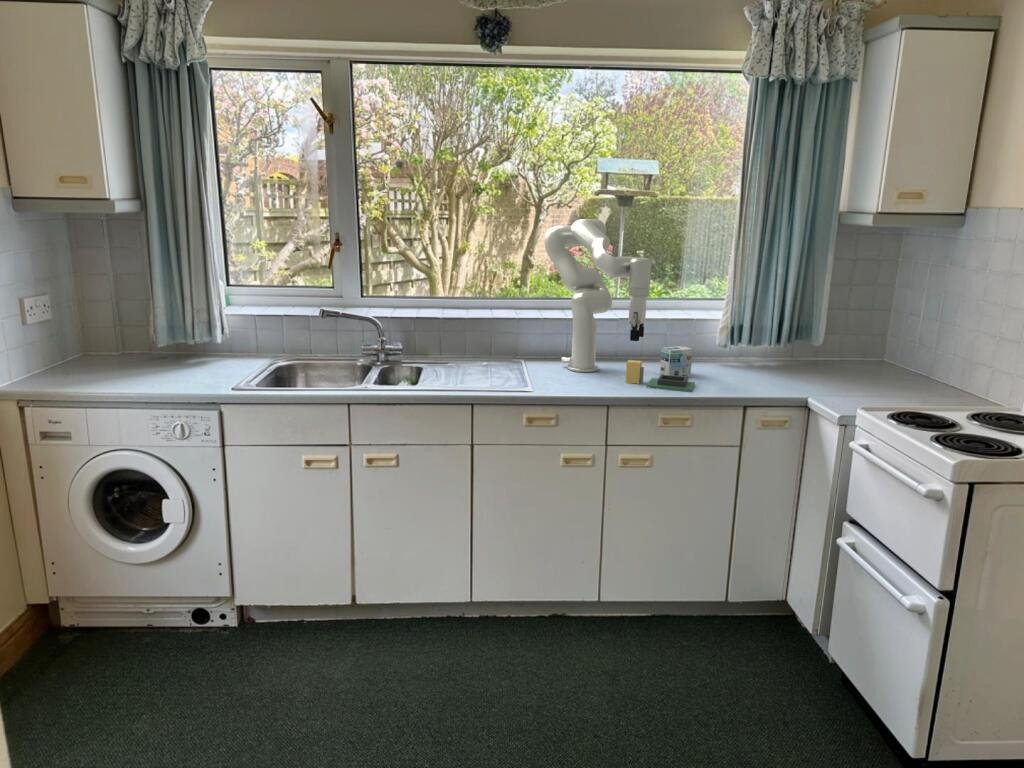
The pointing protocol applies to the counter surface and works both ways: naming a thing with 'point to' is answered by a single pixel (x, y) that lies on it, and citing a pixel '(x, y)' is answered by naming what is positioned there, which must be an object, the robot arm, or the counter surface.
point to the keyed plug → (634, 372)
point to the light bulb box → (676, 361)
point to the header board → (671, 383)
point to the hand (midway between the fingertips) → (636, 338)
